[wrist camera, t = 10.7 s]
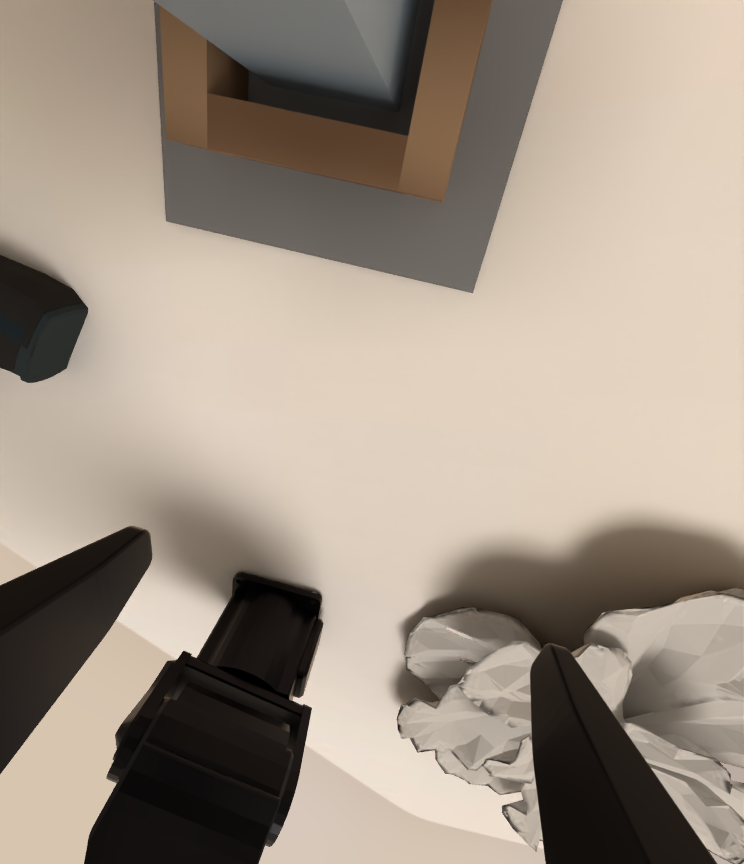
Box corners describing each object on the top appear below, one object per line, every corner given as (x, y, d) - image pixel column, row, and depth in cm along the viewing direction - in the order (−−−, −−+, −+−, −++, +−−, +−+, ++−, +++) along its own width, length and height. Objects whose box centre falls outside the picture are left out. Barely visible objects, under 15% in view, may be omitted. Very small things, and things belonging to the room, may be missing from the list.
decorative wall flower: (362, 840, 32) (440, 588, 17) (376, 742, 38) (443, 492, 23) (768, 959, 29) (1271, 778, 15) (715, 832, 35) (1033, 613, 21)
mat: (472, 291, 18) (472, 293, 17) (171, 220, 18) (166, 221, 18) (678, -383, 10) (687, -405, 9) (139, -456, 11) (127, -480, 10)
